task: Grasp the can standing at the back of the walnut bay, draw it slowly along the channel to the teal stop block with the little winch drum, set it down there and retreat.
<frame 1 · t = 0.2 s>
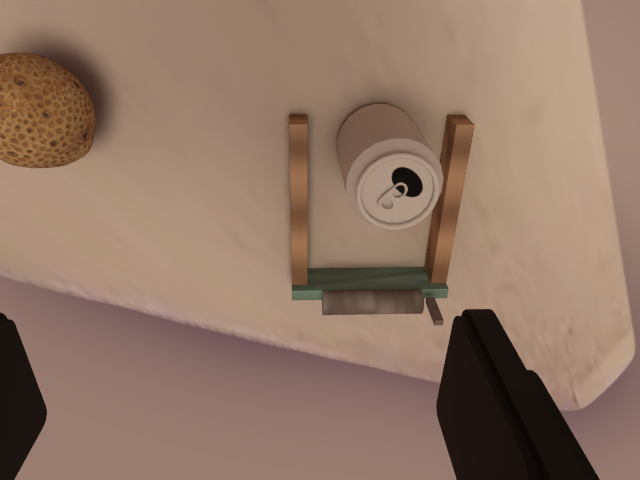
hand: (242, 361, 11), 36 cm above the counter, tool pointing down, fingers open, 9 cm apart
bay: (371, 198, 49), on the counter
can: (375, 140, 46), on the counter
natural sponge: (63, 96, 43), on the counter
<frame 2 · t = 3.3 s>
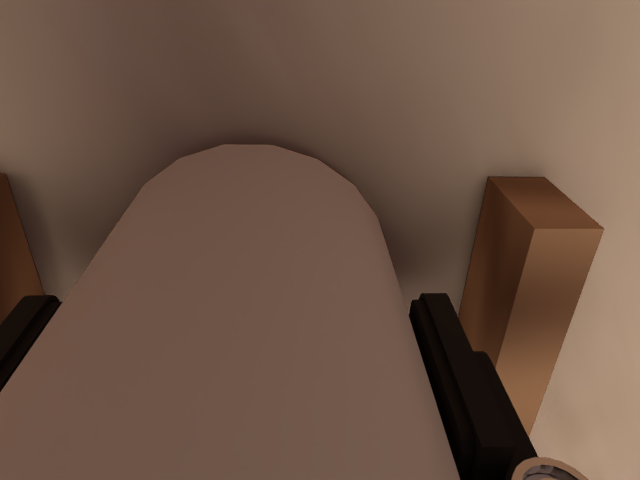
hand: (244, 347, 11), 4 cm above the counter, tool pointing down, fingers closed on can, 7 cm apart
bay: (263, 396, 17), on the counter
can: (257, 251, 14), on the counter, touching gripper
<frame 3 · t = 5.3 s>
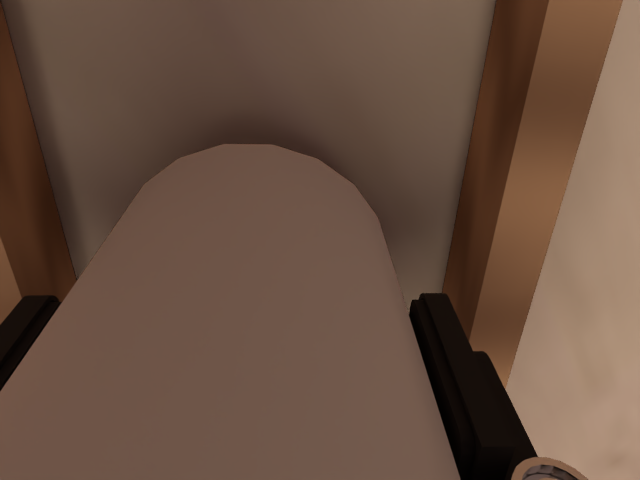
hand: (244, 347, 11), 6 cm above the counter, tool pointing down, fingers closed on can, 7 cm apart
bay: (263, 261, 17), on the counter
can: (257, 251, 14), point 2 cm above the counter, touching gripper
when the fingers open (5 cm above the counter, at t = 7.4 s): can stays where it is, on the counter.
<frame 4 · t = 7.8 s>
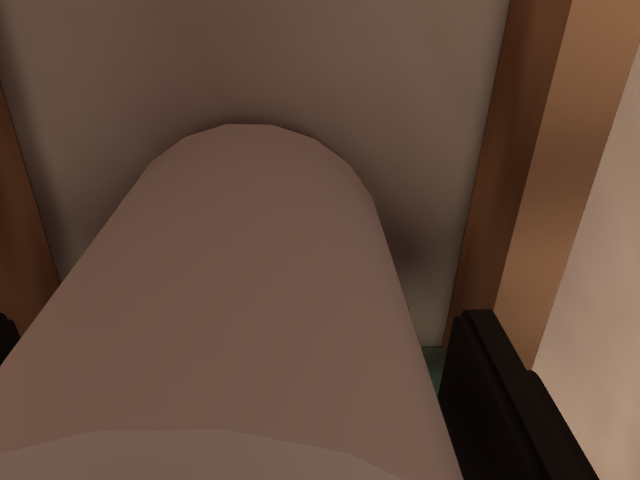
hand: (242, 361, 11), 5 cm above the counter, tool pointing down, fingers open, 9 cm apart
bay: (253, 113, 13), on the counter
can: (257, 230, 15), on the counter
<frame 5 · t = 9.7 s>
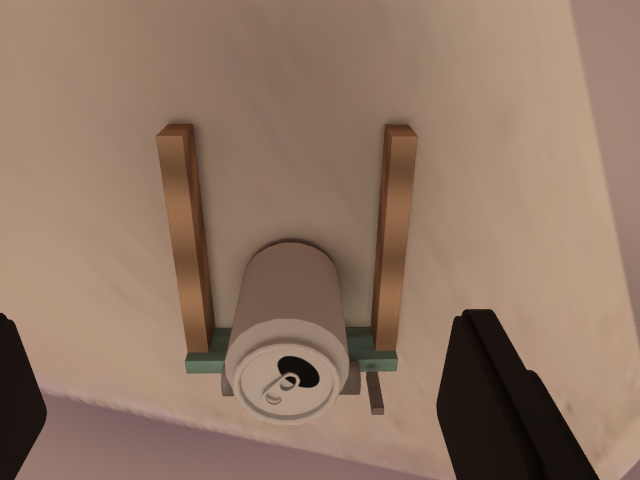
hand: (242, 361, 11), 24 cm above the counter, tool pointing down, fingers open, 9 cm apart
bay: (291, 237, 36), on the counter
can: (291, 277, 38), on the counter
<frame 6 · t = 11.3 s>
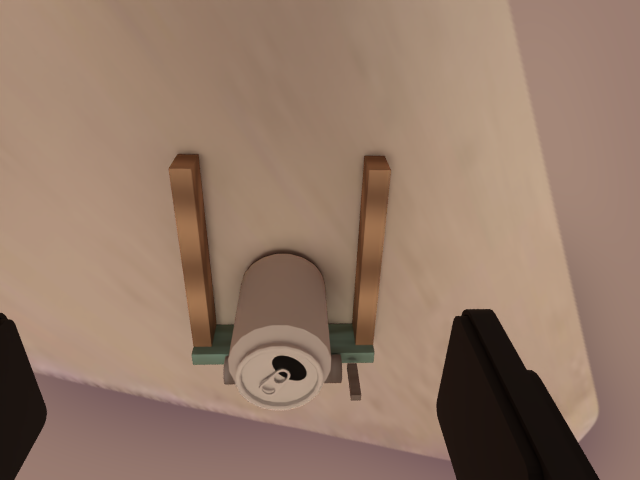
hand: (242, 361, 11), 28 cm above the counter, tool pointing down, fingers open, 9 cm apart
bay: (283, 248, 42), on the counter
can: (283, 282, 44), on the counter
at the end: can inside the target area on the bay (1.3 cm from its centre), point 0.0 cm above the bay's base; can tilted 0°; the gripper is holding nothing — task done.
